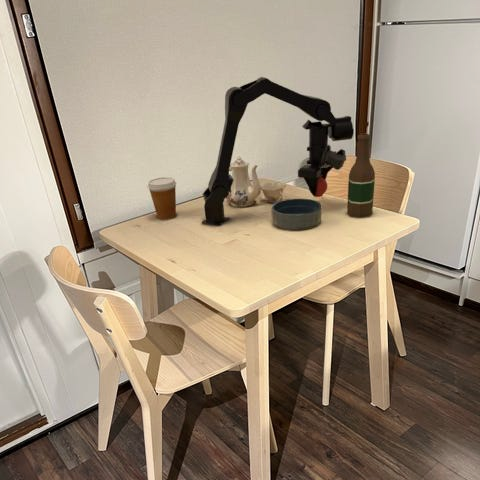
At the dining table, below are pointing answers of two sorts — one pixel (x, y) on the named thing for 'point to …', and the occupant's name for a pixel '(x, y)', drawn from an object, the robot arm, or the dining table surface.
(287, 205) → the bowl
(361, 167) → the beer bottle
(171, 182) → the disposable coffee cup
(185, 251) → the dining table surface
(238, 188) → the chinaware
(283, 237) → the dining table surface
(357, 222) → the dining table surface
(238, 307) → the dining table surface
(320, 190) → the apple
